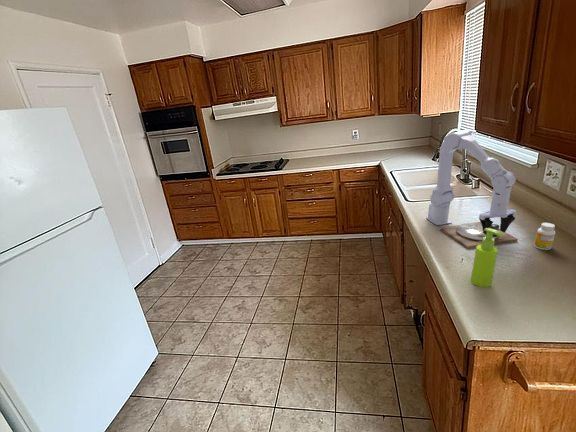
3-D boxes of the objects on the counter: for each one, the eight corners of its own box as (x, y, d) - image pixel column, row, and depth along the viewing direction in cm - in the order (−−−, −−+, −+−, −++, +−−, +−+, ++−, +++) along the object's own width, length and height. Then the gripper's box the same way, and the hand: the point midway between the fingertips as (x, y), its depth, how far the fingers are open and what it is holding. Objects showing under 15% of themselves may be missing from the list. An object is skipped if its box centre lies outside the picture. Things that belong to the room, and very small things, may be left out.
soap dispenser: (486, 290, 98) (496, 236, 91) (467, 280, 104) (475, 228, 97) (498, 285, 100) (509, 231, 93) (478, 275, 106) (487, 224, 99)
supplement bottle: (534, 242, 123) (539, 220, 119) (551, 245, 119) (557, 223, 116) (533, 248, 119) (538, 226, 115) (551, 251, 116) (557, 228, 112)
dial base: (440, 229, 140) (440, 226, 140) (484, 223, 142) (484, 220, 142) (467, 248, 123) (467, 245, 122) (517, 241, 125) (517, 238, 124)
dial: (448, 232, 135) (450, 221, 132) (468, 221, 142) (469, 211, 140) (486, 244, 122) (489, 232, 120) (506, 232, 129) (508, 221, 127)
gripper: (490, 208, 117) (484, 239, 122) (524, 203, 118) (518, 234, 123) (477, 202, 123) (472, 231, 129) (510, 197, 124) (504, 227, 130)
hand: (494, 232), depth 126 cm, fingers open, 7 cm apart
